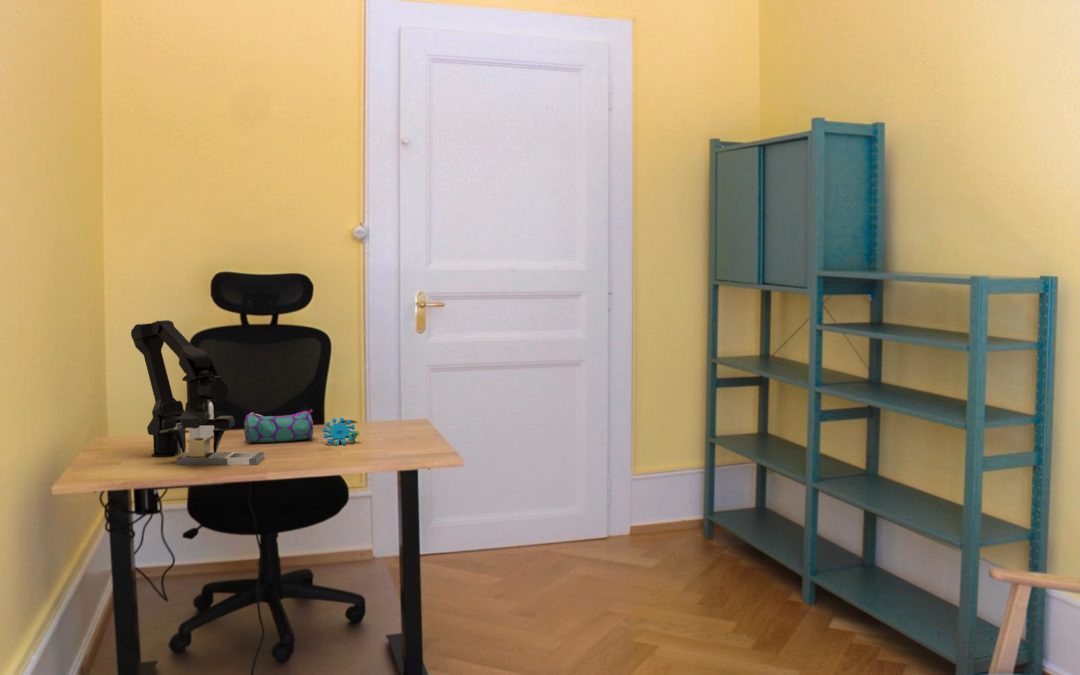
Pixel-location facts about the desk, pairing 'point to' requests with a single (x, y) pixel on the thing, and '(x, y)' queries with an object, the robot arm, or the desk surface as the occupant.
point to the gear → (340, 431)
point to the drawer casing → (223, 459)
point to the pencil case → (278, 427)
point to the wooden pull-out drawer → (199, 448)
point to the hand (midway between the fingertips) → (199, 452)
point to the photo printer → (203, 428)
